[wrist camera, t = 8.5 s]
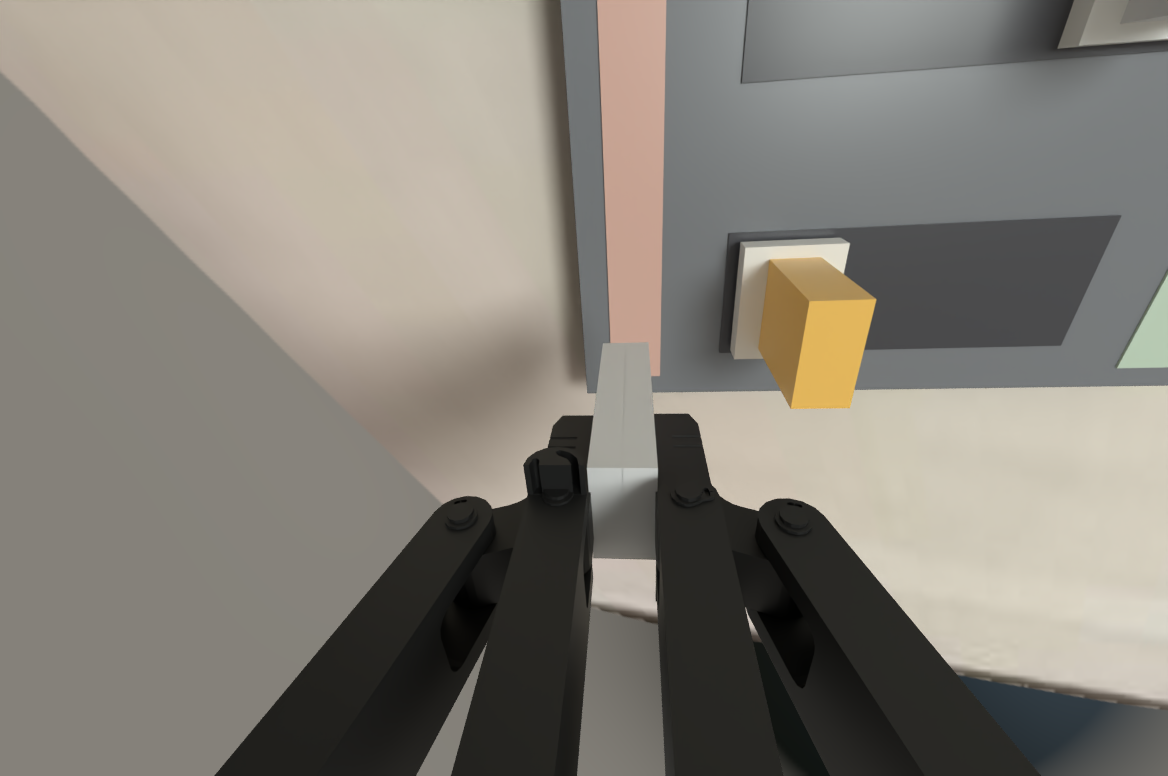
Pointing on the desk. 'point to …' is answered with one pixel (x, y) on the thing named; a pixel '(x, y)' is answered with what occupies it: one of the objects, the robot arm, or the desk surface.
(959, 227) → the breaker panel
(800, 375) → the breaker handle
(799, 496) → the desk surface
